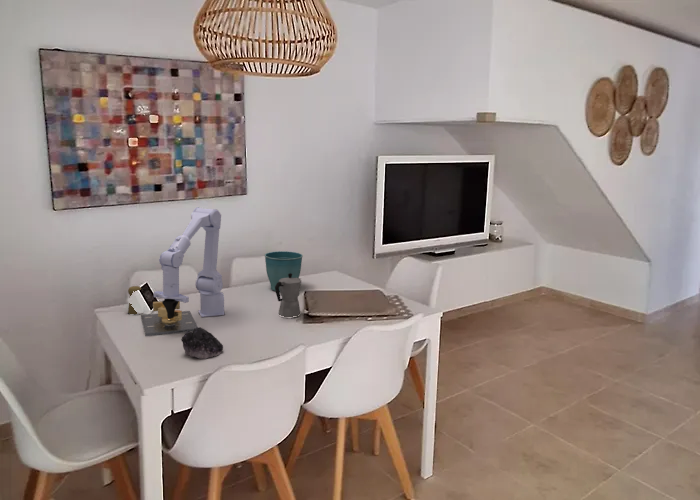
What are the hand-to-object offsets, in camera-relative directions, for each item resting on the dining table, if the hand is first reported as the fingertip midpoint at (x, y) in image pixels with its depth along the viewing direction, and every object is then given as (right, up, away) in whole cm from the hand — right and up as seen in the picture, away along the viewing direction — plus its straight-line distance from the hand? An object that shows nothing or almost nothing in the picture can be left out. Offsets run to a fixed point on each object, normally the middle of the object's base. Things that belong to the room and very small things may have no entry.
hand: (171, 318), depth 214 cm
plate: (-3, -3, +8) cm, 9 cm away
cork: (-21, 0, +20) cm, 29 cm away
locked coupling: (-6, 0, +14) cm, 15 cm away
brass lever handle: (-2, -2, +4) cm, 5 cm away
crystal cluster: (+17, -10, -18) cm, 26 cm away
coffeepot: (+41, -2, +23) cm, 47 cm away
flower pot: (+35, +6, +62) cm, 71 cm away
